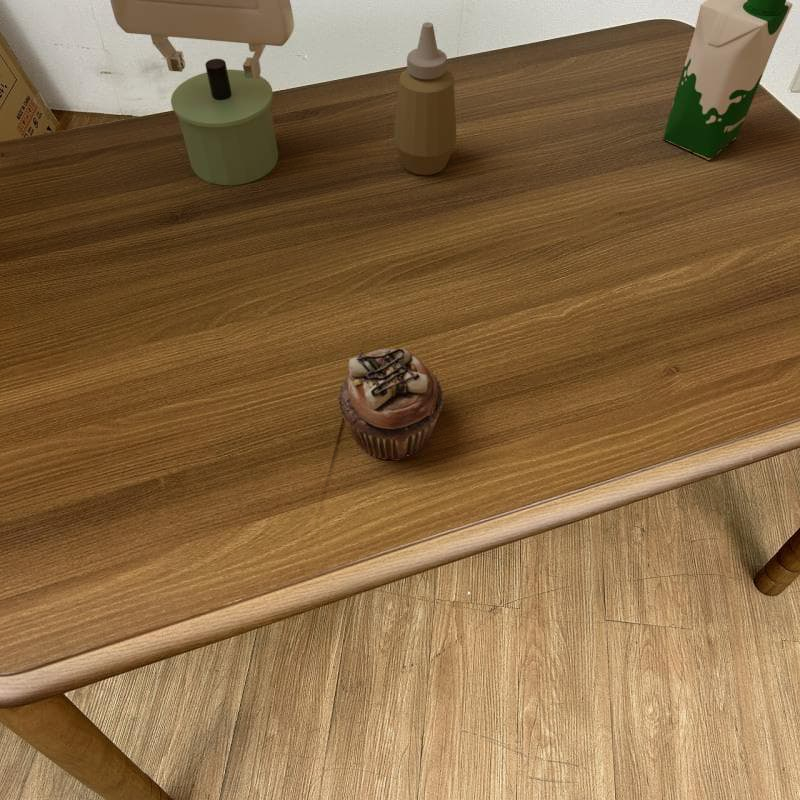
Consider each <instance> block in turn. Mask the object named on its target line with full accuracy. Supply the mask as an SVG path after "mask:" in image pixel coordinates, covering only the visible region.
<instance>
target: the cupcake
mask: <svg viewBox="0 0 800 800" xmlns="http://www.w3.org/2000/svg"><path fill="white" fill-rule="evenodd" d="M342 382H343V383H342V385H340V386H339V388H340V390H339V391H338V394H339V397H338V398H337V401H338V407H339V409H340V413H341V416H342V418H343V419H344V421H345V423H346V424H347V426H348V428H349V431H350V435H351V437H353V439H354V441H355V442H356V444H357V445H358V446H359V445H360V446H361V447H360V446H359V447H360V449H361V450H363V449H364V450H365V451H366V452H365V451H364V450H363V451H364V452H365V453H367V452H368V453H367V454H368V455H369V456H370V455H374V456H375V457H379V458H385V459H393V460H392V461H396V460H395V459H401V460H403V459H402V458H404V457H406V456H407V455H409V456H408V457H411V456H410V455H413V454H415V453H417V452H419V451H420V450H421V449H422V448H423V447H424V448H425V447H426V445H427V444H428V443H429V442H430V440H429V439H431V437H432V434H433V432H434V429H435V426H436V424H437V422H438V419H439V416H440V414H441V410H442V408H443V403H444V396H445V395H444V393H443V390H442V386H441V382H440V381H438V376H437V374H435V373H434V370H432V369H431V368H430V367H429V366H428V365H427V364H426V363H425V362H424V361H423V360H422V359H421V358H420V357H418V356H417V355H415V354H414V353H412V352H410V351H408V350H406V349H401V348H378V349H376V350H373V351H372V352H369V353H367V354H364V353H362V352H359V353H358V354H357V356H356V357H355V356H354V357H352V358H350V359H349V361H348V373H347V375H346V378H345V379H344V380H342ZM428 441H429V442H428ZM427 442H428V443H427ZM426 443H427V444H426ZM424 448H423V449H424ZM423 449H422V450H423ZM422 450H421V451H422ZM421 451H420V452H421ZM420 452H419V453H420ZM417 454H418V453H417ZM415 455H416V454H415ZM413 456H414V455H413ZM375 457H374V458H375ZM379 458H378V459H379ZM406 458H407V457H406ZM385 459H384V460H385ZM404 459H405V458H404Z"/></svg>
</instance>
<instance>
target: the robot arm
mask: <svg viewBox="0 0 800 800" xmlns="http://www.w3.org/2000/svg"><path fill="white" fill-rule="evenodd" d="M109 1H110V4H111V6H110V7H111V9H112V13H113V17H114V20H115V22H116V24H117V25H118V27H120V29H121V30H122V31H124V33H126V34H131V35H132V34H134V35H143V36H150V38H151V41H152V42H151V43H152V44H153V46H154V47H155V48H156V49H157V50H158V51H159V53H160V54H161V55H162V56H163V57H164V58H165V60H166V63H167V68H168V71H170V72H177V73H178V72H180V73H181V72H183V71H184V69H185V68H186V61H185V59H184V58H185V57H184V52H183V51H181V50H176V48H175V47H174V45H173V44H172V43H171V41H170V39H168V38H181V39H192V40H203V41H213V42H214V41H215V42H227V43H236V44H237V43H238V44H239V43H240V44H248V49H249V52H251V53H253V55H252V57H246V58H245V61H244V62H243V64H242V68H243V71H245V77H246V78H256V79H258V77H259V76H261V73H262V72H261V64H260V59H261V57H262V55H263V52H264V50H265V48H266V46H273V47H283V46H285V44H286V43H287V42H288V41H289V39H290V38H291V36H292V34H293V33H294V28H295V19H294V14H293V8H292V2H291V0H109Z"/></svg>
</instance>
